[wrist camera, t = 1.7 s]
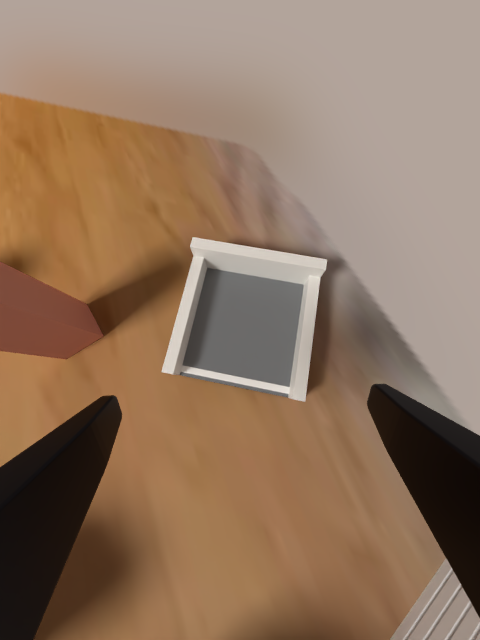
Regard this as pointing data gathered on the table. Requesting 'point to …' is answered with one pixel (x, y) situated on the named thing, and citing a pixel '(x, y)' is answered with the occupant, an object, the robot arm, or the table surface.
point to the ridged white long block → (441, 612)
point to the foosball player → (42, 318)
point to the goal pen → (247, 318)
